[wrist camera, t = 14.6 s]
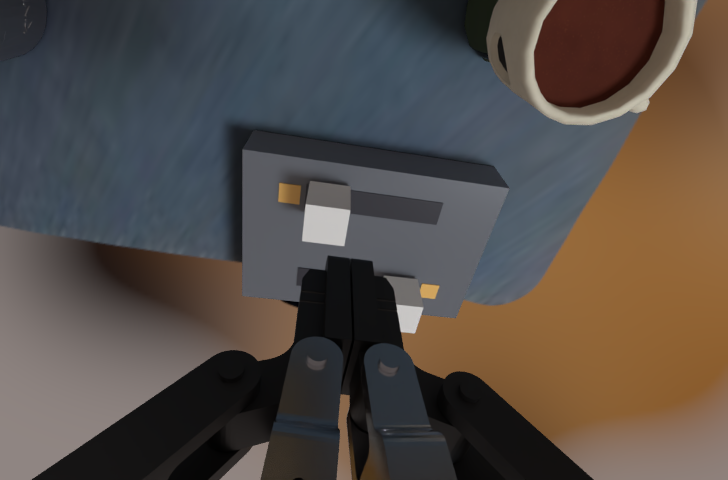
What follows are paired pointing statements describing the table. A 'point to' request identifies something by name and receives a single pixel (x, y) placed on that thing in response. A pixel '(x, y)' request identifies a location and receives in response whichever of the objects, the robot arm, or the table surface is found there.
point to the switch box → (366, 216)
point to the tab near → (327, 213)
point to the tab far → (407, 302)
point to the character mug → (582, 51)
